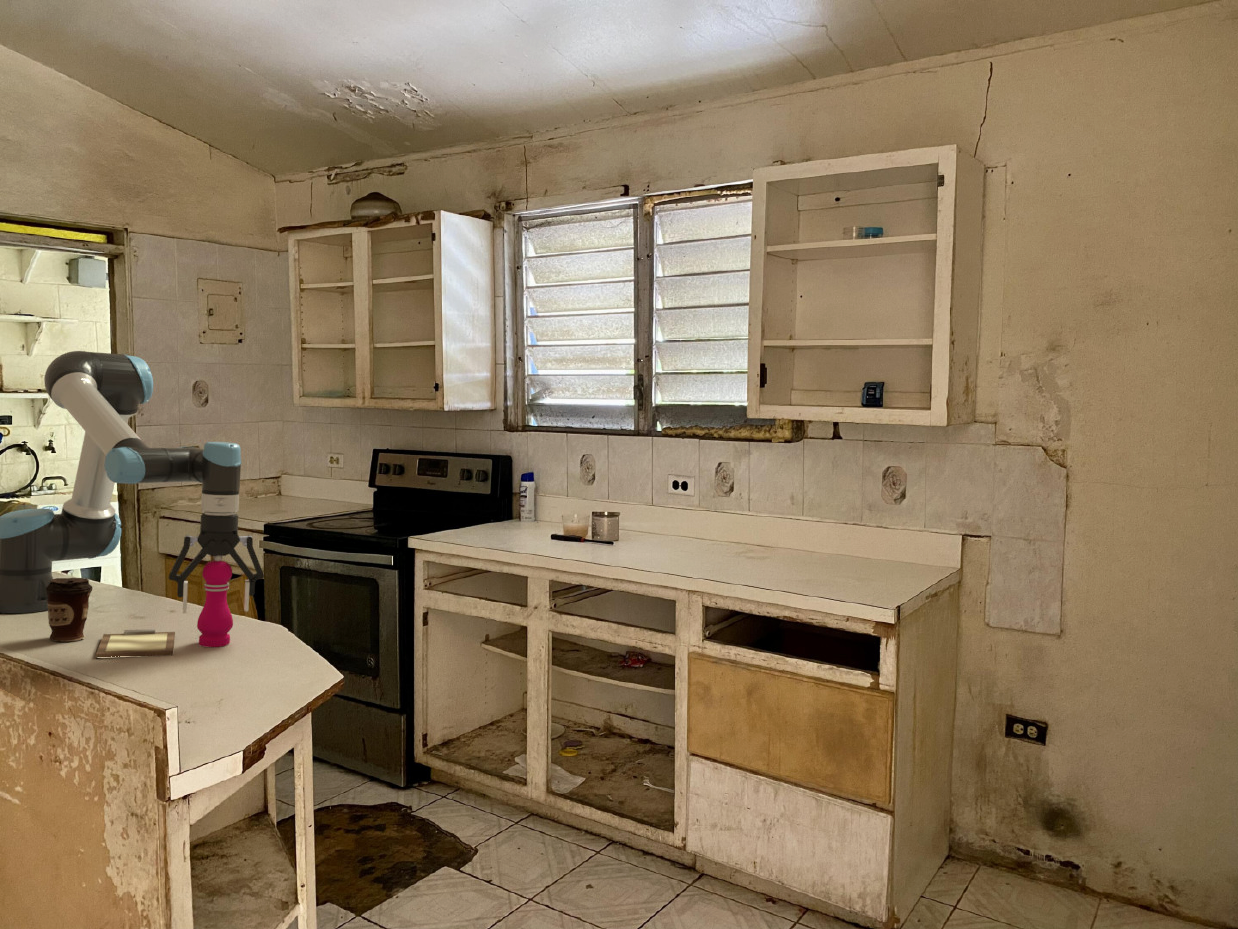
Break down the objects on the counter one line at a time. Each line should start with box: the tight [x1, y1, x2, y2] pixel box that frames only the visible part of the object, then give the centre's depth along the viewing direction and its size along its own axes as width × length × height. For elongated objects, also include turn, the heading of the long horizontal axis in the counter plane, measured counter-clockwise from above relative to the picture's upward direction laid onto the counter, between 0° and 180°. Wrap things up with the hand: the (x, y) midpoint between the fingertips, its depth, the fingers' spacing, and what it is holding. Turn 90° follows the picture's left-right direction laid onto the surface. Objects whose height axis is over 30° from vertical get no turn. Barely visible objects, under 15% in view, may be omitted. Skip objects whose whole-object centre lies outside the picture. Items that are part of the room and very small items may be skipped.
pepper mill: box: [196, 555, 234, 648], centre depth 200 cm, size 7×7×20 cm
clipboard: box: [95, 628, 176, 658], centre depth 194 cm, size 16×14×2 cm
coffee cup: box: [46, 577, 93, 642], centre depth 196 cm, size 9×8×13 cm
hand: (215, 611), depth 200 cm, fingers open, 12 cm apart
